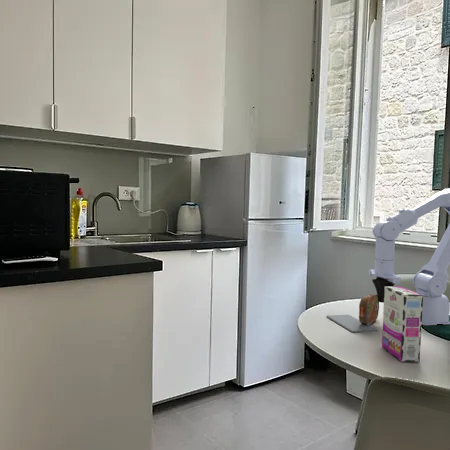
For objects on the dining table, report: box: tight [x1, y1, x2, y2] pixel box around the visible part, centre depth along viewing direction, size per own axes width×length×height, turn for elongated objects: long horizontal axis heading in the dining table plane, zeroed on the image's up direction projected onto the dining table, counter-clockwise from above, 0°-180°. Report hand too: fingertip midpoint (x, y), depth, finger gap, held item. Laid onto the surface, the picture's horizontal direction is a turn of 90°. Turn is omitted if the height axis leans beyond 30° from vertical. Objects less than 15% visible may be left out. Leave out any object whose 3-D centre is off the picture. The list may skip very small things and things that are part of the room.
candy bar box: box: [381, 285, 423, 363], centre depth 109 cm, size 11×5×16 cm, turn 5°
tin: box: [358, 293, 380, 326], centre depth 138 cm, size 15×3×8 cm, turn 147°
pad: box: [326, 314, 378, 334], centre depth 136 cm, size 8×17×1 cm, turn 13°
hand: (382, 302), depth 138 cm, fingers closed
